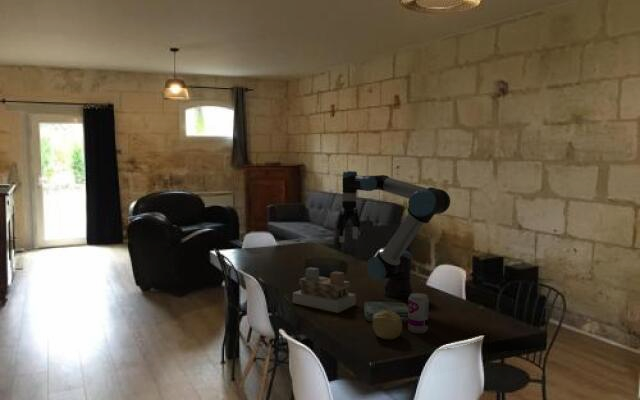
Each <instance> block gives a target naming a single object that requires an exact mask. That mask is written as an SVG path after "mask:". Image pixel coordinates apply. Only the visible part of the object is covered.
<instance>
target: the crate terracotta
mask: <svg viewBox="0 0 640 400" xmlns="http://www.w3.org/2000/svg"><path fill="white" fill-rule="evenodd" d="M329 278H330V283H333V284H338V285H339V284H342V283H344V281H345V272H342V271H338V270H337V271H335V270H334V271H332V272H330V275H329Z"/></svg>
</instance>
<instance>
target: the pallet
mask: <svg viewBox="0 0 640 400" xmlns="http://www.w3.org/2000/svg"><path fill="white" fill-rule="evenodd" d="M298 281H299V285H300V290H301V293H305V294H310V295H315V296H320V297H324V298H329V299H334V300H336V299H338V297H340V298H341V297H343V295H345V296H346V295H348V293H349V288H350V287H351V281H348V280H344V283H342V284H339V285H338V284H333V283H330V277H326V276H321V275H319V278H318V279H315V280H311V279H305V277H302V278H299V280H298Z"/></svg>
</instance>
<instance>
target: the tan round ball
mask: <svg viewBox="0 0 640 400" xmlns="http://www.w3.org/2000/svg"><path fill="white" fill-rule="evenodd" d="M372 328H373V330H374V333H375V335H376V336H377V337H378V338H380V339H381V340H394V339H396V338H398V337H399V336H400V335H401V333H402V331H403V322H402V321H401V318H400V317H399V315H398V314H396V313H395V312H392V311H388V310H387V311H383V310H381V311H380V312H378V313H376V314H374V315H373V321H372Z"/></svg>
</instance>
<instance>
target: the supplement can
mask: <svg viewBox="0 0 640 400" xmlns="http://www.w3.org/2000/svg"><path fill="white" fill-rule="evenodd" d="M429 299H430V298H429V297H428V294H426V293H423V292H413V293H412V294H410V296H409V298H408V304H407V305H408V321H407V329H408V330H409V332H411V333H414V334H425V333H426V332H428V330H429V328H428V327H429V306H430V305H429V304H430V303H429V302H430V301H429Z"/></svg>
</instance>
